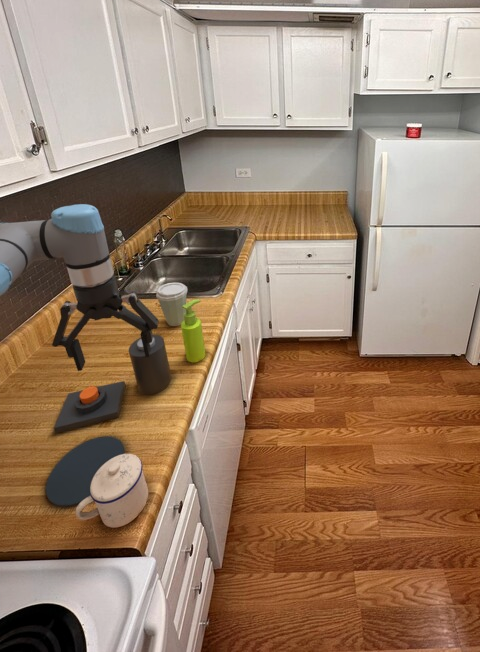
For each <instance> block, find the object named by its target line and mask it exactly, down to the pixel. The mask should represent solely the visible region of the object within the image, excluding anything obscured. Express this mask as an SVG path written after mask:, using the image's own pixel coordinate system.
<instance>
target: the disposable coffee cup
mask: <svg viewBox="0 0 480 652" xmlns="http://www.w3.org/2000/svg"><path fill="white" fill-rule="evenodd" d="M187 293H188V286H186V285H185V284H184V283H182V282H168V283H165V284H161V285H160V286H158V288H157V289H156V295H155V296H156V297H155V298H156V299H157V300H158V303H159V306H160V309H161V311H162V314H163V316H164V319H165V322H166V323H167V325H169V326H170V327H178V326H181V323H182V322H183V321H184V313H185V312H186V309H184V308H183V307H182V306H183V305H185V304H186V303H187V296H188V295H187Z"/></svg>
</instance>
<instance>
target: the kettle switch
mask: <svg viewBox="0 0 480 652" xmlns="http://www.w3.org/2000/svg"><path fill="white" fill-rule="evenodd" d="M96 387H97V386H89V387H86V388H85V389H83V391H82V390H81V391H82V392H81V393H80V399H81V402H82V404H90V403H92V402H94V401H95V400H96V399H97V398H98V397H99V393H98V389H97V388H96Z"/></svg>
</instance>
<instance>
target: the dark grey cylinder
mask: <svg viewBox="0 0 480 652" xmlns="http://www.w3.org/2000/svg"><path fill="white" fill-rule="evenodd" d="M152 335H153V339H152V343H150V348H151V351H150V356H149V357H145V352H144V348H143V344H142V339H141V337H139V338H137V339H135V340H134V341H133V342H132V343H131V344H130V345H129V347H128V354H129V357H130V362H131V366H132V370H133V373H134V378H135V382H136V385H137V388H138V392H139V393H140V394H141V395H144V396H154V395H158V394H160V393H161V392H163V391H164V390H166V389H167V388H168V387H169V386H170V384H171V383H172V379H173V377H172V372H171V366H170V363H169V357H168V353H167V348H166V343H165V339H164V337H163V336H162V335H159V334H152Z"/></svg>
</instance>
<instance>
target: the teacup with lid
mask: <svg viewBox="0 0 480 652" xmlns="http://www.w3.org/2000/svg"><path fill="white" fill-rule="evenodd" d="M90 495H91V496H89V497H87V498H85V499H84V500H83V501H81V502H80V503H79V504H78V505H76V508H75V517H77V519H79V520H81V521H86V520H90V519H93V518H95V517H97V516H98V515H99V516H100V519H101V521H102V523H103V524H104V525H105V527H108V528H115V529H116V528H121V527H123V526H124V527H125V526H126V525H128V524H129V523H131V522H132V521H134V520H135V518H137V517H138V516H139V515H140V514H141V512H142V511H143V509H144V508H145V506H146V504H147V502H148V499H149V488H148V484H147V480H146V477H145V474H144V471H143V462H142V460H141V459H140V457H138V455H135V454H133V453H125V454H122V455H118V456H116V457H114V458H112V459H110V460H109V461H107V462H106V463H105V464H104V465H102V466H101V467H100V469H99V470H98V471H97V472H96V474H95V475H94V477H93V479H92V482H91V486H90ZM93 502H94V504H95V507H96V508H94V509H93V510H90V511H82V510H83V509H84V508H85V507H86V506H88V505H90V504H91V503H93Z"/></svg>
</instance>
